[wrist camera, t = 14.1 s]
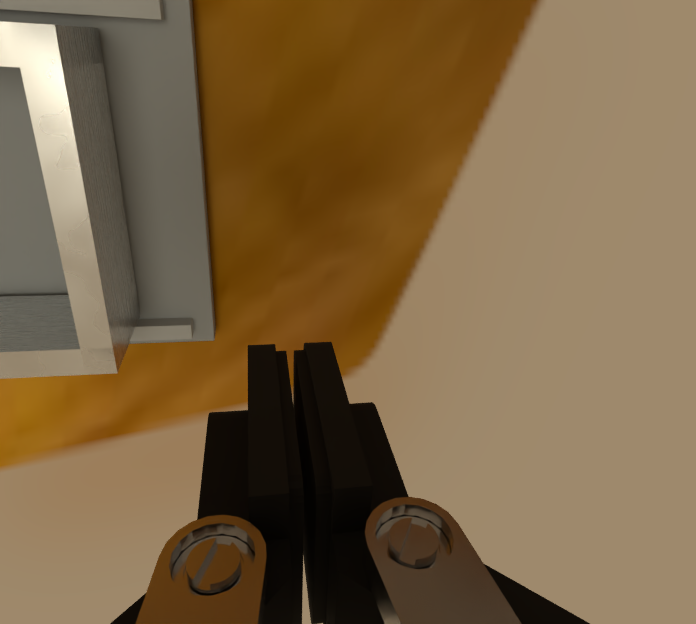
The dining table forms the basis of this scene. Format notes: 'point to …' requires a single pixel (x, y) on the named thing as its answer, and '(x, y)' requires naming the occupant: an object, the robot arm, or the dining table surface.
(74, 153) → the collar
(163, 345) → the dining table surface
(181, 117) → the base plate
